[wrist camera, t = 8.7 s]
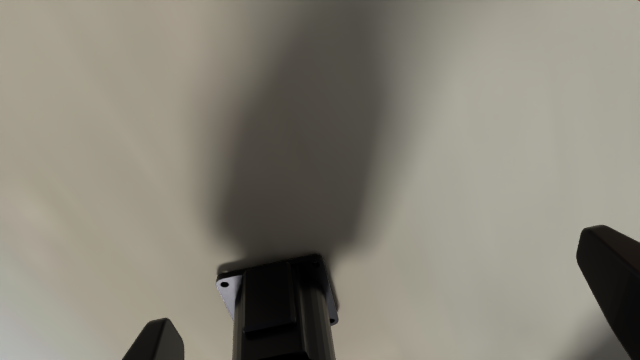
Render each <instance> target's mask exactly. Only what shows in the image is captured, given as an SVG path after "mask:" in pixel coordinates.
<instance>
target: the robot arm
mask: <svg viewBox="0 0 640 360" xmlns="http://www.w3.org/2000/svg"><path fill="white" fill-rule="evenodd" d="M576 259H577V263H578V265H579V267H580V269H581V271H582V273H583V275H584V277H585V279H586V281H587V283H588V285H589V287H590V289H591V291H592V293H593V295H594V297H595V298H596V300H597V302H598V304H599V306H600V308H601V310H602V312H603V314H604V316H605V318H606V320H607V322H608V323H609V325H610V327H611V329H612V330H613V332H614V334H615V335H616V337H617V338H618V340H619V341H620V343H621V344H622V346H623V347H624V349H625V351H626V352H627V354H628V355H629V357H630V358H631V360H640V242H638V241H636V240H634V239H632V238H630V237H628V236H626V235H624V234H622V233H620V232H618V231H616V230H614V229H612V228H610V227H608V226H605V225H597V226H592V227H587V228H584V229H583V230H582V232H581V235H580V240H579V244H578V249H577V253H576ZM314 262H317V263H314ZM216 287H217V289H218V291H219V293H220V295H221V297H222V299H223V301H224V303H225V305H226V307H227V309H228V311H229V313H230V315H231V317H232V319H233V321H234V330H233V355H232V360H336V358H335V352H334V346H333V339H332V333H331V327H330V326H332V325H335V324H336V323H337V322H338V314H337V310H336V306H335V302H334V298H333V295H332V291H331V287H330V283H329V279H328V275H327V271H326V267H325V264H324V260H323V257H322V256H321V255H318V254H313V255H308V256H304V257H299V258H294V259H290V260H285V261H280V262H276V263H271V264H266V265H262V266H257V267H252V268H248V269H243V270H239V271H234V272H229V273H225V274H221V275H219V276H218V277H217V279H216ZM122 360H184V344H183V340H182V338H181V336H180V335H179V333H178V332H177V330H176V328H175V327H174V325H173V324H172V322H171V321H170V319H168V318H162V319H157V320H152V321H150V322H148V323H147V324H146V326H145V327H144V328H143V330H142V331H141V333H140V334H139V336H138V337H137V339H136V340H135V341H134V343H133V344H132V346H131V347H130V349H129V350H128V352H127V353H126V354H125V356H124V357H123V359H122Z"/></svg>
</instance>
